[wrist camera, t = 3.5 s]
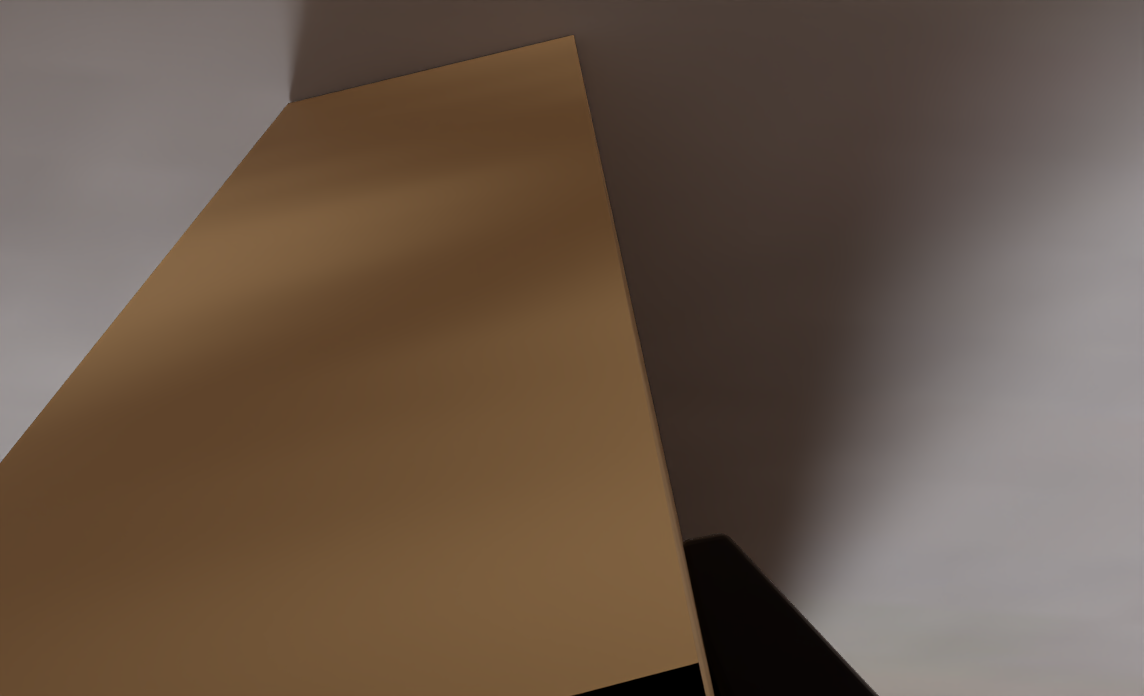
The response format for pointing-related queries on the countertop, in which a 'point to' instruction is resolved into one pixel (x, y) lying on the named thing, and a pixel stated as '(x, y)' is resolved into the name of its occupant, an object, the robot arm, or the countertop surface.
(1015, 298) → the countertop surface
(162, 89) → the countertop surface
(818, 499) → the countertop surface
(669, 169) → the countertop surface
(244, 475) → the door panel
